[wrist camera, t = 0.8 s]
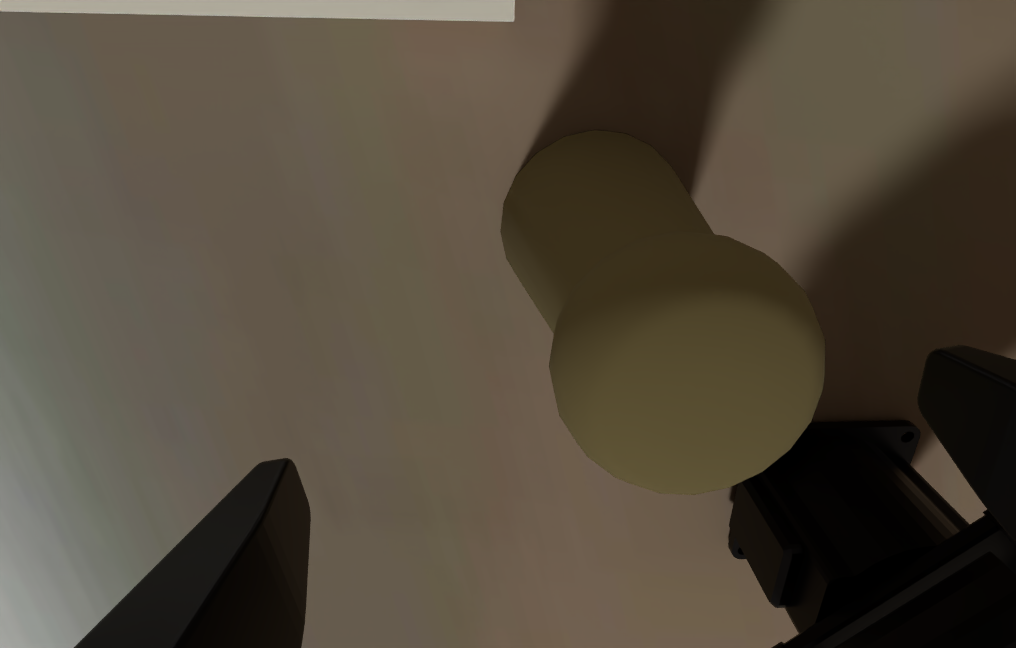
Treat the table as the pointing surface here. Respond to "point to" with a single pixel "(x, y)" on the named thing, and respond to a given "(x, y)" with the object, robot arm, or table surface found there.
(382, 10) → the tray
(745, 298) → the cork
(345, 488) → the table surface
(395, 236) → the table surface
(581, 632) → the table surface
